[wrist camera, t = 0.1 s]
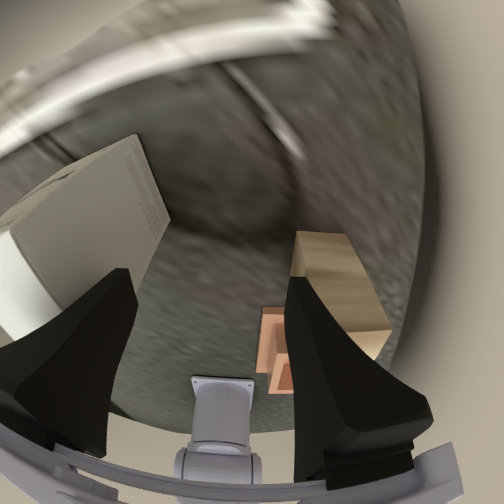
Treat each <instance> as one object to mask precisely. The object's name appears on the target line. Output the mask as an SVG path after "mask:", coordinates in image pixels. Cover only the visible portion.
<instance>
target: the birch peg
mask: <svg viewBox="0 0 504 504" xmlns="http://www.w3.org/2000/svg"><path fill="white" fill-rule="evenodd" d="M290 276H295V277H306V278H307V279H308V281H309V283H310V284H311V286H312V287H313V289H314V290H315V292H316V293H317V295H318V296H319V298H320V299H321V301H322V302H323V304H324V305H325V306H326V308H327V309H328V310H329V312H330V313H331V314H332V316H333V317H334V318H335V320H336V321H337V322H338V324H339V325H340V326H341V327H342V328H343V330H344V331H345V332H346V333H347V334H348V335H349V337H350V338H351V339H352V340H353V341H354V342H355V343H356V344H357V345H358V346H359V347H360V348H361V349H362V350H363V351H364V352H365V353H366V354H367V355H368V356H369V357H370V358H372V359H373V360H375V358H376V357H377V355H378V354H379V352H380V350H381V349H382V347H383V345H384V344H385V342H386V340H387V338H388V337H389V335H390V333H391V331H392V328H391V326H390V324H389V321H388V319H387V317H386V314H385V312H384V310H383V308H382V306H381V303H380V301H379V299H378V297H377V295H376V293H375V291H374V289H373V287H372V284H371V282H370V280H369V278H368V276H367V274H366V272H365V270H364V268H363V266H362V264H361V262H360V260H359V258H358V257H357V255H356V253H355V251H354V249H353V247H352V245H351V243H350V241H349V240H348V238H347V236H346V234H338V233H322V232H306V231H297V232H296V238H295V245H294V251H293V257H292V264H291V270H290Z"/></svg>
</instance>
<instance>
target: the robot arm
mask: <svg viewBox="0 0 504 504" xmlns="http://www.w3.org/2000/svg"><path fill="white" fill-rule="evenodd" d="M137 308H138V301H137V298H136V294H135V291H134V287H133V283H132V280H131V276H130V272H129V268H115V269H114V270H112V271H111V272H110V273H108V274H107V275H106V276H105V277H103V278H102V279H101V280H100V281H99V282H98V283H96V284H95V285H94V286H93V287H92V288H91V289H89V290H88V291H87V292H86V293H85V294H84V295H82V296H81V297H80V298H79V299H77V300H76V301H75V302H74V303H72V304H71V305H70V306H69V307H68V308H66V309H65V310H64V311H63V312H61V313H60V314H58V315H57V316H56V317H54V318H53V319H51V320H50V321H49V322H47V323H46V324H44V325H43V326H41V327H39V328H37V329H36V330H34V331H32V332H31V333H29V334H27V335H26V336H24V337H22V338H20V339H18V340H16V341H14V342H12V343H10V344H7V345H5V346H3V347H0V474H1V475H2V476H3V477H4V478H5V479H6V480H8V481H9V482H10V483H11V484H13V485H14V486H15V487H17V488H18V489H19V490H20V491H22V492H23V493H24V494H26V495H27V496H28V497H30V498H31V499H32V500H34V501H35V502H37V503H39V504H128V503H125V502H121V501H118V499H117V497H118V490H117V489H115V488H112V487H109V486H107V485H104V484H102V483H100V482H98V481H96V480H93V479H91V478H88V477H86V476H83V475H81V474H79V473H78V471H77V470H76V468H77V469H80V470H82V471H85V472H87V473H90V474H93V475H96V476H99V477H102V478H105V479H108V480H111V481H114V482H117V483H121V484H124V485H128V486H131V487H136V488H139V489H143V490H148V491H152V492H157V493H162V494H167V495H173V496H174V497H175V499H176V501H177V503H178V504H260V502H283V501H296V500H297V501H298V500H301V501H299V502H298V503H297V504H449V503H451V502H452V501H454V500H456V499H458V498H459V497H461V496H463V495H464V491H463V485H462V480H461V476H460V471H459V467H458V463H457V459H456V455H455V452H454V448H453V445H452V442H449V443H446V444H444V445H441V446H439V447H436V448H434V449H431V450H428V451H426V452H424V453H422V454H420V455H418V456H417V457H415V458H414V459H412V455H411V450H413V449H414V444H413V439H415V438H416V437H417V436H419V435H420V434H422V433H423V432H424V431H426V430H427V429H428V428H429V427H430V426H431V425H432V423H433V421H434V420H433V416H432V413H431V409H430V406H429V404H428V401H427V399H426V397H425V396H424V395H422V394H420V393H419V392H417V391H415V390H414V389H412V388H410V387H409V386H407V385H405V384H404V383H402V382H401V381H399V380H398V379H396V378H395V377H394V376H393V375H391V374H390V373H389V372H387V371H386V370H385V369H383V368H382V367H381V366H380V365H379V364H378V363H376V362H375V361H374V360H373V359H372V358H370V357H369V356H368V355H367V354H366V353H365V352H364V351H363V350H362V349H361V348H360V347H359V346H358V345H357V344H356V343H355V342H354V341H353V340H352V339H351V338H350V337H349V335H348V334H347V333H346V332H345V331H344V330H343V328H342V327H341V326H340V325H339V324H338V322H337V321H336V320H335V318H334V317H333V316H332V314H331V313H330V312H329V310H328V309H327V308H326V306H325V305H324V304H323V302H322V301H321V299H320V298H319V296H318V295H317V293H316V292H315V290H314V289H313V287H312V286H311V284H310V283H309V281H308V279H307V278H306V277H295V276H290V280H289V286H288V291H287V297H286V303H285V309H284V330H285V340H286V346H287V352H288V358H289V364H290V370H291V376H292V383H293V392H294V418H295V460H294V461H295V462H294V483H284V484H262V463H261V458H260V457H259V456H258V455H257V454H256V453H252V454H251V447H249V435H250V410H251V405H252V397H253V389H254V380H252V379H230V378H214V377H201V376H192V378H191V380H192V385H193V389H194V393H195V396H196V402H195V410H194V418H193V426H192V435H191V442H188V445H187V448H182V449H181V450H179V451H178V452H177V454H176V457H175V462H174V471H173V477H167V476H162V475H156V474H152V473H147V472H143V471H138V470H134V469H130V468H126V467H123V466H119V465H116V464H112V463H109V462H106V461H102V460H99V459H100V458H103V457H104V456H106V440H107V423H108V413H109V406H110V399H111V393H112V388H113V383H114V379H115V375H116V371H117V368H118V365H119V362H120V359H121V357H122V354H123V351H124V349H125V346H126V343H127V341H128V338H129V335H130V333H131V330H132V327H133V325H134V321H135V317H136V313H137ZM77 451H79V452H77ZM80 452H81V453H80ZM82 453H85V454H88V455H90V456H93V457H90V456H88V455H85V454H82ZM94 457H96V458H99V459H96V458H94Z"/></svg>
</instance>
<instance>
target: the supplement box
mask: <svg viewBox="0 0 504 504" xmlns="http://www.w3.org/2000/svg"><path fill="white" fill-rule="evenodd" d="M169 222H170V217H169V214H168V212H167V210H166V207H165V205H164V202H163V200H162V197H161V195H160V192H159V190H158V187H157V185H156V182H155V180H154V177H153V174H152V172H151V169H150V167H149V164H148V161H147V159H146V156H145V154H144V151H143V148H142V145H141V143H140V141H139V138H138V136H137V135H136V134H133V135H131V136H129V137H127V138H125V139H122V140H120V141H118V142H116V143H114V144H112V145H109V146H107V147H105V148H103V149H101V150H99V151H97V152H94V153H92V154H90V155H88V156H86V157H84V158H82V159H80V160H78V161H76V162H74V163H72V164H70V165H68V166H65V167H64V168H62V169H61V170H60V171H58V172H57V173H55V174H54V175H52V176H51V177H50V178H48V179H47V180H45V181H44V182H43V183H41V184H40V185H38V186H37V187H36V188H35V189H33V190H32V191H31V192H29V193H28V194H27V195H26V196H24V197H23V198H22V199H21V200H19V201H18V202H17V203H16V204H15V205H13V206H12V207H11V208H10V209H9V210H8V211H7V212H5V213H4V214H3V215H2V216H1V217H0V325H1V326H2V328H3V329H4V330H5V331H6V332H7V333H8V334H9V335H10V336H11V337H12V339H13V340H14V341H16V340H18V339H20V338H22V337H24V336H26V335H27V334H29V333H31V332H32V331H34V330H36V329H37V328H39V327H41V326H43V325H44V324H46V323H47V322H49V321H50V320H51V319H53V318H54V317H56V316H57V315H58V314H60V313H61V312H63V311H64V310H65V309H66V308H68V307H69V306H70V305H71V304H72V303H74V302H75V301H76V300H77V299H79V298H80V297H81V296H82V295H84V294H85V293H86V292H87V291H88V290H89V289H91V288H92V287H93V286H94V285H95V284H96V283H98V282H99V281H100V280H101V279H102V278H103V277H105V276H106V275H107V274H108V273H110V272H111V271H112V270H114V269H115V268H129V272H130V276H131V280H132V283H133V287H134V291H135V294H136V293H137V291H138V289H139V286H140V284H141V282H142V280H143V277H144V275H145V273H146V271H147V268H148V266H149V264H150V262H151V259H152V257H153V255H154V253H155V251H156V249H157V247H158V244H159V242H160V240H161V238H162V236H163V234H164V232H165V230H166V228H167V226H168V224H169Z"/></svg>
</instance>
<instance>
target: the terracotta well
mask: <svg viewBox="0 0 504 504" xmlns="http://www.w3.org/2000/svg"><path fill="white" fill-rule="evenodd" d="M284 309H285V307H266V306H263V308H262V317H261V326H260V335H259V344H258V352H257V361H256V372H259V373H268V394H287V393H294V392H293V383H292V376H291V370H290V364H289V358H288V352H287V346H286V340H285V330H284Z"/></svg>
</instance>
